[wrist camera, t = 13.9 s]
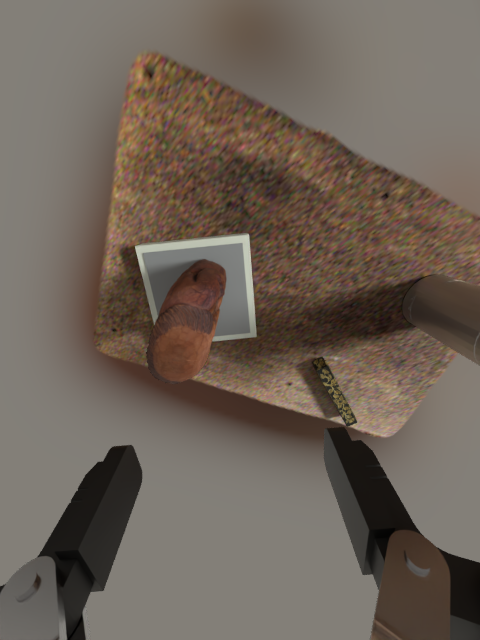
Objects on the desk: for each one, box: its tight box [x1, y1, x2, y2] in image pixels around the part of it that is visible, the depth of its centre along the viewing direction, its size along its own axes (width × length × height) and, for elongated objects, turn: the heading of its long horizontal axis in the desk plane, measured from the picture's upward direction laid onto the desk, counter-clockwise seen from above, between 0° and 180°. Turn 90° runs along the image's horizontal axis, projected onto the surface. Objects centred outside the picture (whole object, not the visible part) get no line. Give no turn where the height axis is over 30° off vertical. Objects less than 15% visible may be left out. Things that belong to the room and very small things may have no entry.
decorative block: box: [312, 357, 357, 426], centre depth 49 cm, size 15×2×4 cm, turn 30°
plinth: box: [135, 233, 257, 341], centre depth 40 cm, size 16×16×4 cm
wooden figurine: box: [146, 259, 227, 384], centre depth 30 cm, size 12×6×18 cm, turn 160°
